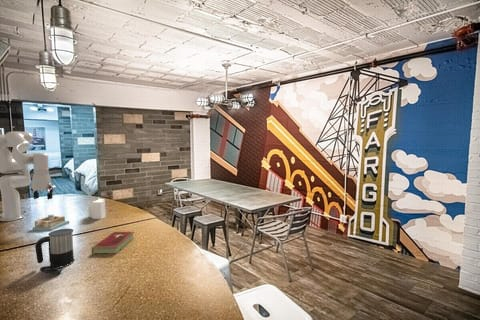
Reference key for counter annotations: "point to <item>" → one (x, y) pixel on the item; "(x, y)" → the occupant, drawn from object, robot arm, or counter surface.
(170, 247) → the counter surface
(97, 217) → the corner bracket
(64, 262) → the milk frother
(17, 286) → the counter surface
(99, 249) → the hardcover book
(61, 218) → the ring
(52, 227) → the lid with knob
